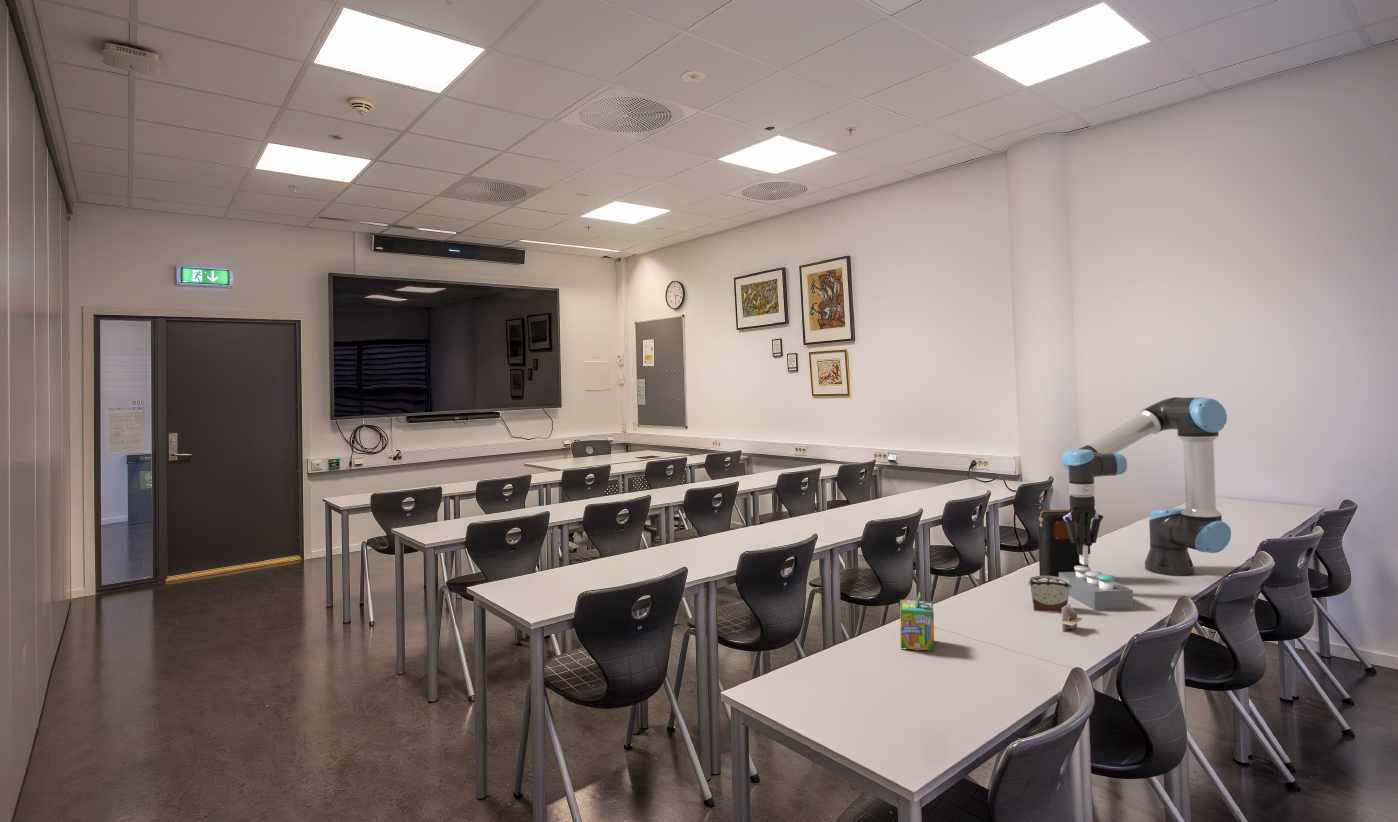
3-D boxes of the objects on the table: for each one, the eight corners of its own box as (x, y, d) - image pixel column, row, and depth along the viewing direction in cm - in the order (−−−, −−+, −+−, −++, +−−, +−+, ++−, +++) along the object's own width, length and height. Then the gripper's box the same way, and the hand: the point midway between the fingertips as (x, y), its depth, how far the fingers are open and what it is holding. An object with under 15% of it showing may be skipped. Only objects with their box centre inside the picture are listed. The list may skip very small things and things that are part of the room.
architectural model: (1082, 630, 201) (1082, 605, 201) (1072, 637, 197) (1072, 611, 196) (1070, 627, 204) (1070, 603, 204) (1060, 634, 199) (1059, 608, 199)
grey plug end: (1085, 588, 237) (1085, 565, 236) (1093, 592, 232) (1093, 569, 232) (1071, 588, 237) (1071, 565, 236) (1079, 592, 232) (1079, 569, 232)
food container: (1068, 606, 221) (1067, 576, 220) (1072, 613, 215) (1071, 581, 214) (1026, 604, 225) (1025, 574, 224) (1028, 610, 219) (1028, 579, 218)
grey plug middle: (1097, 594, 230) (1096, 570, 229) (1105, 598, 225) (1105, 574, 225) (1083, 594, 230) (1082, 571, 229) (1091, 599, 225) (1090, 575, 225)
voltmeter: (1081, 575, 254) (1079, 508, 253) (1092, 582, 245) (1091, 512, 244) (1037, 575, 255) (1035, 509, 254) (1046, 582, 247) (1045, 513, 246)
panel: (1093, 588, 238) (1093, 571, 238) (1133, 608, 216) (1132, 590, 216) (1059, 589, 238) (1058, 572, 238) (1094, 610, 216) (1094, 591, 216)
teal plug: (1109, 598, 223) (1109, 573, 222) (1118, 602, 218) (1118, 578, 218) (1094, 598, 223) (1094, 574, 222) (1103, 603, 218) (1102, 578, 218)
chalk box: (900, 638, 200) (899, 587, 200) (933, 640, 197) (932, 589, 197) (900, 650, 191) (898, 597, 191) (935, 652, 189) (933, 599, 188)
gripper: (1068, 498, 229) (1070, 567, 230) (1107, 496, 229) (1109, 565, 230) (1057, 494, 237) (1059, 561, 238) (1094, 492, 237) (1096, 559, 238)
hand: (1083, 563), depth 234 cm, fingers closed
